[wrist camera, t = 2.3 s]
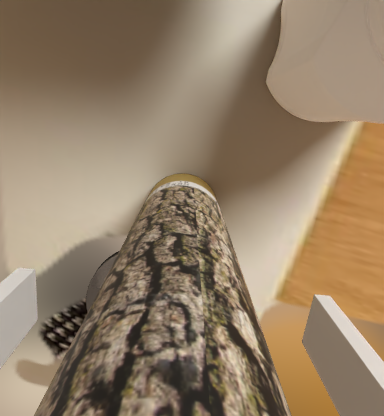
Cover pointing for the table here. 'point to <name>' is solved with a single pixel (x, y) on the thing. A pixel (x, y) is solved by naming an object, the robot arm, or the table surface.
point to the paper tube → (170, 323)
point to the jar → (330, 60)
